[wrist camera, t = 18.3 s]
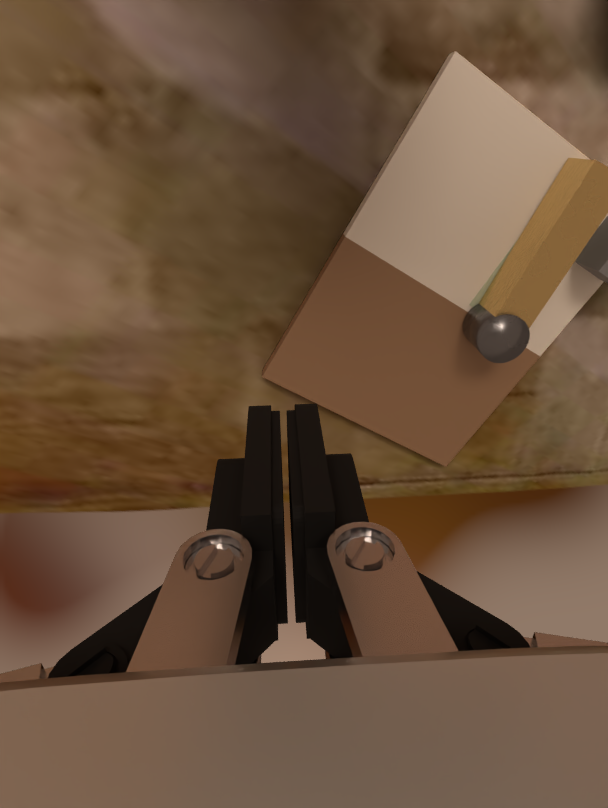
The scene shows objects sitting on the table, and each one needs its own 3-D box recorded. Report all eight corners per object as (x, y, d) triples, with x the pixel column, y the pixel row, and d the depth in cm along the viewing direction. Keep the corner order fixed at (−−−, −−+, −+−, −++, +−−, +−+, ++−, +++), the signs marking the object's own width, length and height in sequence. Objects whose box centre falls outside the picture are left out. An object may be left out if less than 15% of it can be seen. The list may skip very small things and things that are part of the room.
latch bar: (491, 351, 40) (510, 370, 37) (453, 334, 39) (470, 352, 36) (604, 178, 34) (639, 183, 31) (563, 154, 33) (594, 157, 30)
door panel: (449, 53, 31) (475, 42, 27) (648, 213, 37) (695, 223, 33) (262, 370, 41) (261, 396, 37) (441, 459, 46) (458, 490, 42)
